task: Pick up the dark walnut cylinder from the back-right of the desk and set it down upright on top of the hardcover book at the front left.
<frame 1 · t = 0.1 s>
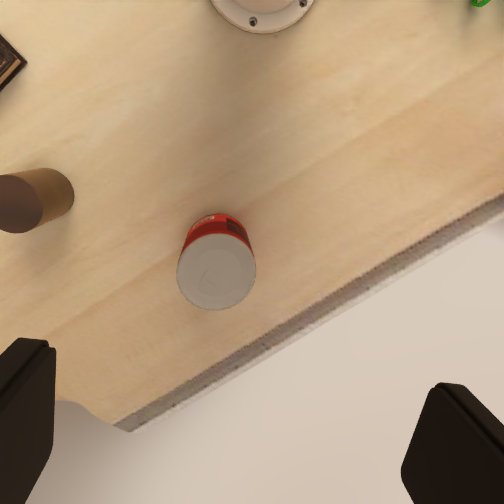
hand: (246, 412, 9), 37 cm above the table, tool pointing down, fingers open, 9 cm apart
canned food: (217, 243, 46), on the table
walnut cylinder: (48, 193, 42), on the table
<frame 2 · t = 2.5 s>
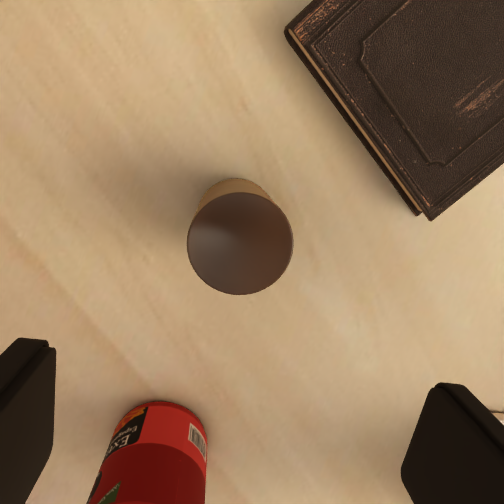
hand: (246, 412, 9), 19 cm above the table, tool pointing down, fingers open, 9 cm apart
hardcover book: (488, 12, 24), on the table
canned food: (162, 434, 32), on the table
walnut cylinder: (235, 217, 27), on the table
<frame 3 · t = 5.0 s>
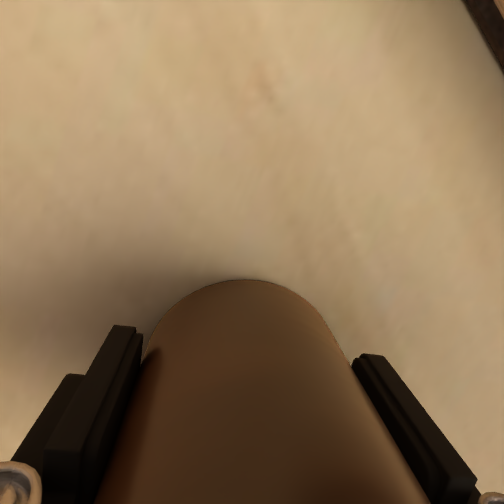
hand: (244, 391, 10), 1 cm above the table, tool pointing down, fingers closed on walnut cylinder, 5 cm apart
walnut cylinder: (241, 366, 11), on the table, touching gripper
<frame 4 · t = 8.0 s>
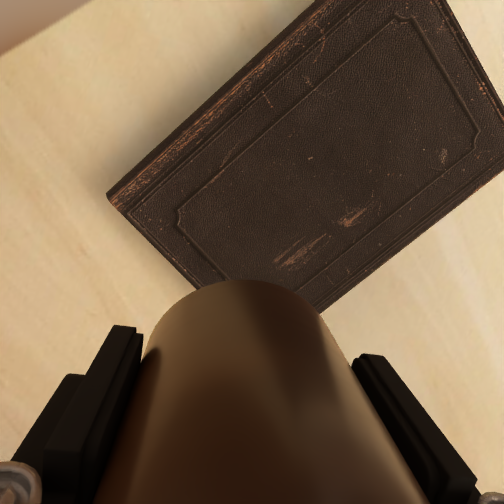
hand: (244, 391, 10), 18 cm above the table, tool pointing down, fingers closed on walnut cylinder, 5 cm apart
hardcover book: (313, 169, 26), on the table
walnut cylinder: (241, 366, 11), point 16 cm above the table, touching gripper
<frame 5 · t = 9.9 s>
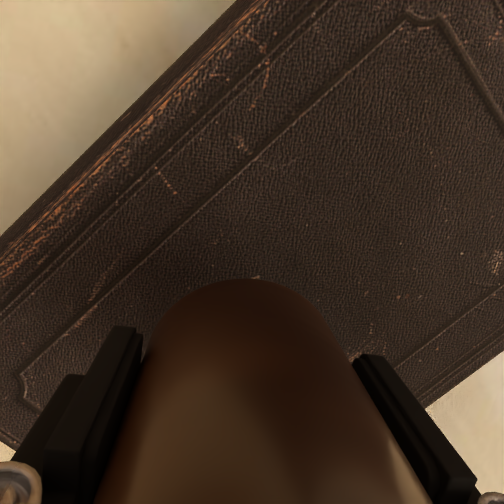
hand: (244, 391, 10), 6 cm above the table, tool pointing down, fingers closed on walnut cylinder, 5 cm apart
hardcover book: (270, 274, 15), on the table
walnut cylinder: (242, 365, 11), point 5 cm above the table, touching gripper
when the fingers open (3 cm above the table, at t = 11.1 s): walnut cylinder stays where it is, resting on hardcover book.
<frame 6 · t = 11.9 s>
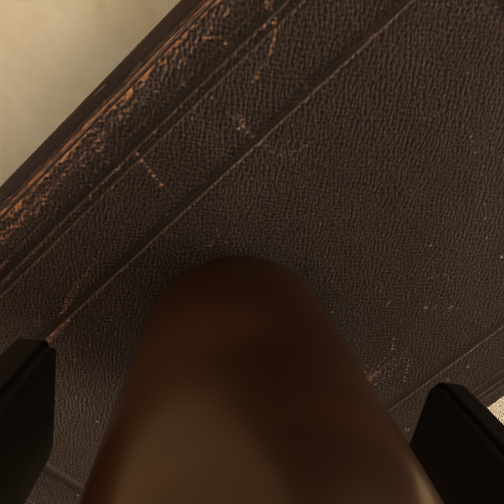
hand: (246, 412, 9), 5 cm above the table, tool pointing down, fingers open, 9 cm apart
hardcover book: (274, 279, 13), on the table, touching walnut cylinder
walnut cylinder: (238, 342, 11), point 2 cm above the table, touching hardcover book
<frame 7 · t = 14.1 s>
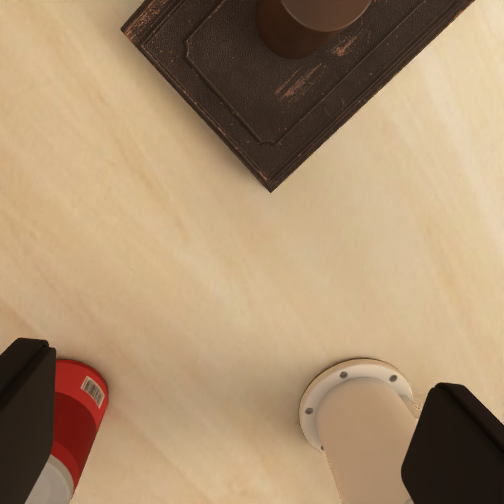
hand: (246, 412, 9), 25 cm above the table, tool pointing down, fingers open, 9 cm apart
hardcover book: (306, 10, 28), on the table, touching walnut cylinder
canned food: (70, 388, 37), on the table
walnut cylinder: (294, 15, 26), point 2 cm above the table, touching hardcover book
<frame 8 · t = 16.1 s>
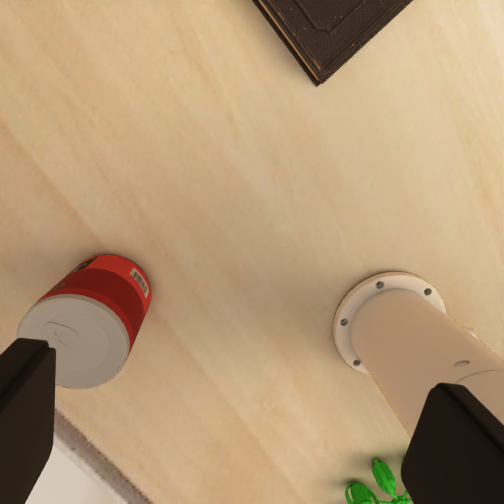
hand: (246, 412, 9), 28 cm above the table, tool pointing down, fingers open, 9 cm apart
canned food: (114, 287, 38), on the table
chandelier: (391, 488, 49), on the table
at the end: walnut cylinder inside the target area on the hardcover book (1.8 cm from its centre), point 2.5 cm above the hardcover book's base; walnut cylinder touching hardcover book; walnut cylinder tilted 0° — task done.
